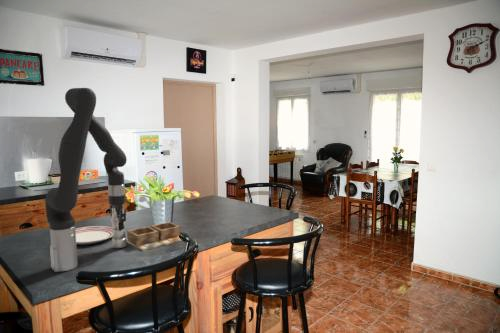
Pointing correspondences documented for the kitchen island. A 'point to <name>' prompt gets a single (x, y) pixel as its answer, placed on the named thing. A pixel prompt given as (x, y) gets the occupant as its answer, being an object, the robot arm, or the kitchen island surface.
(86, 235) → the dinner plate
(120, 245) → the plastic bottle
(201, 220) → the kitchen island surface
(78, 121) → the robot arm
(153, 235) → the socket board
